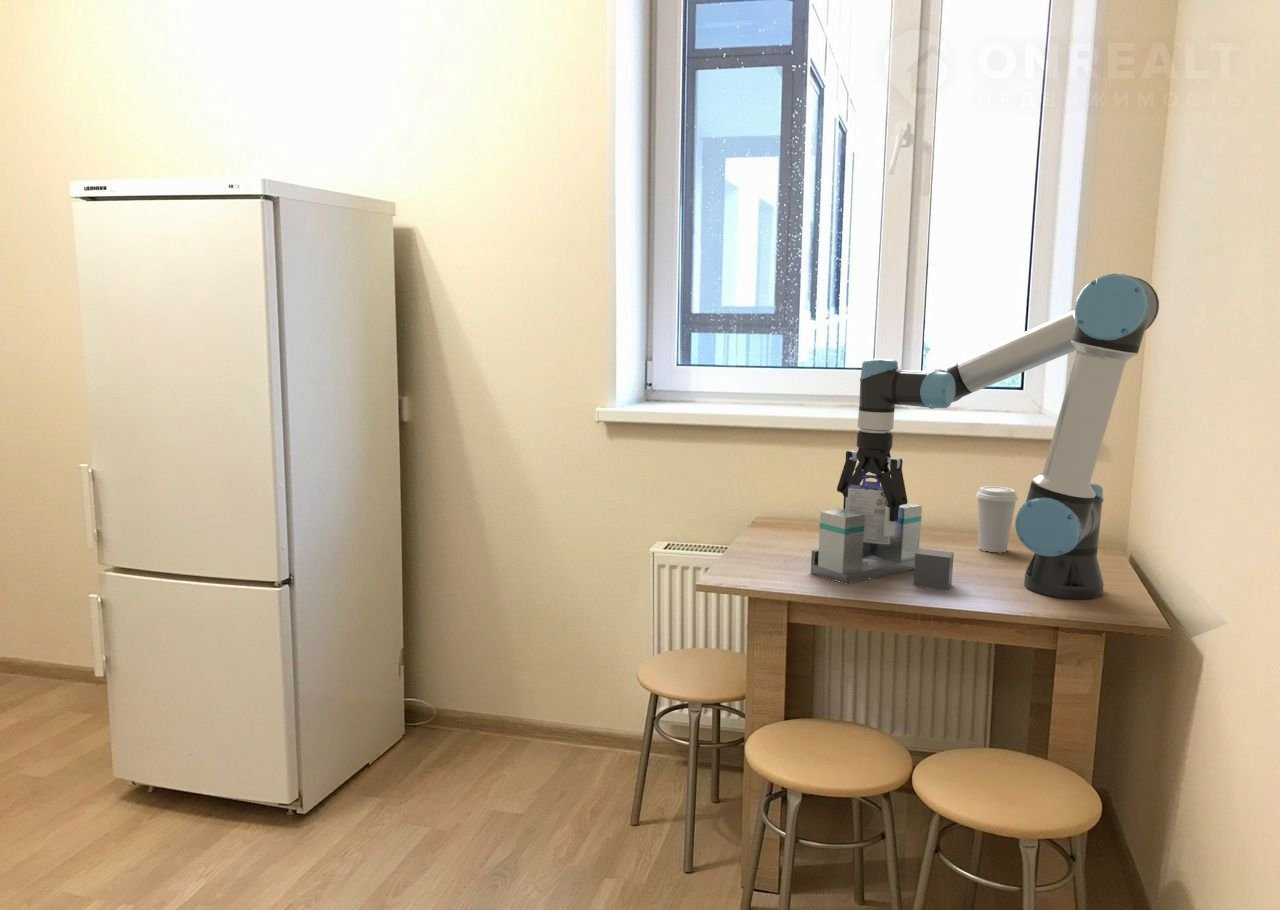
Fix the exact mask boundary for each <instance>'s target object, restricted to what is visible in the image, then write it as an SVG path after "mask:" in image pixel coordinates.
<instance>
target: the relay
mask: <svg viewBox="0 0 1280 910" xmlns="http://www.w3.org/2000/svg"><path fill="white" fill-rule="evenodd" d="M954 555H955V553H954V552H952V551H946V550H945V551H943V550H937V549H928V548H922V547H921V548H920V547H919V550H918V551H917V552H916V553H915V568H914V569H913V585H915V586H914V587H919V586H921V587H922V588H926V587H928V588H927V589H934V590H942V591H949V590H950V588H951V586H952V584H953V568H954ZM913 585H912V586H913Z"/></svg>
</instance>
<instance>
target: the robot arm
mask: <svg viewBox="0 0 1280 910" xmlns="http://www.w3.org/2000/svg"><path fill="white" fill-rule="evenodd" d="M1159 311H1160V299H1159V296H1158V293H1157V292H1156V290H1155V289H1154V287H1153V286H1152V285H1151V284H1150V283H1149V282H1147V281H1146V280H1144V279H1142V278H1139V277H1135V276H1132V275H1129V274H1125V273H1122V274H1121V273H1120V274H1119V273H1109V274H1106V275H1102V276H1099V277H1097V278H1096V279H1093V280H1092V281H1090V282H1088V284H1086V285H1085V286H1084V287H1083V288H1082V290H1081V291H1080V292H1079V294H1078V296H1077V298H1076V300H1075V305H1074V310H1072V311H1070V312H1067V313H1066V314H1064V315H1063V314H1062V315H1061V316H1059V317H1056V318H1054V319H1051V320H1049V321H1047V322H1045V323H1043V324H1040V325H1038V326H1036V327H1034V328H1031V329H1029V330H1027V331H1026V330H1025V331H1024V332H1022V333H1020V334H1017V335H1016V336H1012V337H1010V338H1008V339H1006V340H1003V341H1001V342H999V343H997V344H995V345H992V346H990V347H988V348H985V349H983V350H981V351H978V352H976V353H974V354H972V355H969V356H967V357H965V358H962V359H960V360H958V361H955V362H953V363H951V364H949V365H947V366H943V367H941V368H938V369H930V370H913V369H912V370H909V369H907V370H905V369H900V368H899V365H898V361H897V360H896V359H891V358H866V359H865V360H863V362H862V363H861V364H862V365H861V371H860V372H861V373H860V378H859V383H860V384H859V405H858V413H857V414H858V415H857V416H858V418H857V428H858V429H859V430H858V431H857V434H856V447H857V448H858V449H857V450H856V449H855V450H847V451H846V452H845V461H844V464H843V468H842V471H841V474H840V478H839V480H838V484H837V487H836V491H837V492H838V493H841V494H842V496H843V506H842V507H843V510H847V497H848V487H849V484H852V485H861V483H862V482H863V476H864V475H867V474H868V473H870V474H871V475H876V477H877V478H878V479H879V481H880V486H882V488H883V491H884V494H885V496H886V499H887V501H888V504H889V505H887V506H885V520H884V535H883V536H886V537H887V536H892V535H894V534H895V521H897V520H898V512H899V506H900V505H905V504H907V503H909V502H908V497H907V491H906V485H905V479H904V475H903V474H904V473H903V463H904V462H903V459H902V458H901V457H899V458H894V457H892V456H891V450H892V448H893V440H894V439H893V438H894V433H893V432H892V430H894V425H895V424H894V421H895V419H894V418H895V409H896V408H895V407H896V406H910V407H917V408H919V407H920V408H928V409H931V410H933V409H948V408H949V407H951V405H952V403H955V402H957V401H959V400H961V399H962V398H963V397H966V396H968V395H970V394H972V393H973V394H974V393H976V392H978V391H980V390H982V389H985V388H987V387H990V386H992V385H995V384H996V383H1000V382H1002V381H1004V380H1007V379H1009V378H1011V377H1014V376H1017V375H1019V374H1021V373H1024V372H1027V371H1029V370H1032V369H1034V368H1036V367H1039V366H1041V365H1043V364H1047V363H1048V362H1052V361H1053V360H1055V359H1058V358H1060V357H1063V356H1066V355H1068V354H1071V353H1074V352H1075V353H1076V354H1075V357H1074V361H1073V363H1072V364H1073V365H1072V367H1071V372H1070V374H1069V378H1068V381H1067V385H1066V388H1065V393H1064V395H1063V400H1062V403H1061V407H1060V411H1059V414H1058V417H1057V421H1056V424H1055V429H1054V431H1053V435H1052V439H1051V442H1050V445H1049V450H1048V453H1047V456H1046V459H1045V460H1046V461H1045V464H1044V468H1043V470H1042V472H1041V473H1039V474H1038V475H1036V476H1033V478H1032V479H1031V483H1030V485H1029V488H1028V489H1029V490H1028V492H1027V496H1026V499H1025V502H1024V503H1023V504H1022V505H1021V507H1020V508H1019V510H1018V511H1017V513H1016V516H1015V521H1014V526H1015V527H1014V528H1015V531H1016V534H1017V537H1018V539H1019V540H1020V542H1021V543H1022V545H1023V546H1025V548H1027V549H1028V550H1029V551H1031V552H1033V556H1031V557H1032V558H1031V560H1030V562H1029V564H1028V566H1027V569H1026V571H1025V573H1024V581H1023V585H1024V586H1025V587H1026V588H1027V589H1029V590H1030V591H1033V592H1034V593H1035V592H1036V593H1039V594H1041V595H1045V596H1050V597H1055V598H1056V597H1057V598H1062V599H1068V600H1069V599H1070V600H1071V599H1072V600H1089V599H1090V600H1092V599H1098V598H1100V597H1102V596H1103V594H1104V585H1105V583H1104V580H1103V575H1102V571H1101V568H1100V563H1099V560H1098V548H1099V541H1100V540H1099V538H1100V528H1101V519H1102V518H1101V517H1102V509H1103V502H1104V501H1105V500H1104V495H1103V494H1104V492H1103V487H1102V486H1101V485H1100V484H1097V483H1092V478H1093V475H1094V470H1095V467H1096V465H1097V460H1098V459H1099V458H1098V457H1099V455H1100V451H1101V448H1102V444H1103V441H1104V437H1105V433H1106V431H1107V427H1108V424H1109V422H1110V421H1109V420H1110V418H1111V414H1112V411H1113V407H1114V404H1115V400H1116V397H1117V393H1118V391H1119V388H1120V387H1119V386H1120V384H1121V379H1122V377H1123V373H1124V369H1125V365H1126V363H1127V362H1128V361H1129V360H1131V359H1132V358H1134V357H1136V356H1138V354H1139V350H1140V349H1141V348H1140V347H1141V344H1142V341H1143V339H1144V335H1145V332H1146V330H1148V329H1149V328H1150V327H1151V326H1152V325H1153V323H1154V322H1155V321H1156V320H1157V319H1156V318H1157V317H1158V313H1159ZM857 462H858V464H857Z"/></svg>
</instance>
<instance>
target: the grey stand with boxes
mask: <svg viewBox="0 0 1280 910" xmlns="http://www.w3.org/2000/svg"><path fill="white" fill-rule="evenodd" d="M922 510H923V505H920V504H917V503H912V502H908V503H907V504H905V505H900V506H899V512H898V520H897V521H895V534H894V535H892V536H891V541H890V544H889V545H888V544H875V543H863V539H864V527H865V526H864V521H865V515H864V514H860V513H856V512H851V511H847V510H844V508H843V509H842V508H837V509H831V510H830V509H829V510H823V511H820V517H819V536H818V537H819V539H818V549H813V550H811V556H810V557H811V560H810V561H811V562H810V574H812V573H814V574H813V575H816V574H818V575H817V576H819V575H821V576H820V577H822V576H824V577H823V578H825V577H827V578H826V579H828V578H830V579H829V580H831V579H834V580H837V581H840V582H839V583H841V582H843V583H842V584H844V583H848V584H851V583H850V582H853V583H856V582H855V581H857V582H860V581H859V580H862V581H865V580H864V579H866V580H869V578H871V579H875V578H879V576H880V577H884V576H889V575H892V574H897V573H903V572H905V571H906V572H907V571H912V570H914V568H915V553H916V552H917V551H918V550H919V549H920V542H921V541H920V539H921V538H920V537H921V524H922V518H923V517H922ZM888 574H889V575H888ZM883 575H884V576H883ZM874 577H875V578H874ZM834 580H833V581H834ZM837 581H836V582H837Z"/></svg>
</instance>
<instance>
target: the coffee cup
mask: <svg viewBox="0 0 1280 910" xmlns="http://www.w3.org/2000/svg"><path fill="white" fill-rule="evenodd" d="M975 497H976V498H977V517H978V518H977V521H978V523H977V524H978V526H977V528H978V533H977V535H978V539H977V540H978V550H979V549H981V550H984V551H983V552H985V551H989V552H988V553H990V552H1005V553H1007V552H1006V551H1008V547H1009V543H1010V542H1009V541H1010V537H1011V530H1012V524H1013V518H1014V512H1015V508H1016V502H1017V501H1019V497H1018V494H1016V490H1015V489H1014V488H1010V487H1004V486H996V485H994V486H992V485H990V486H989V485H988V486H981V487H979V490H978V491H977V492H976V495H975ZM981 550H980V551H981Z"/></svg>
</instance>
